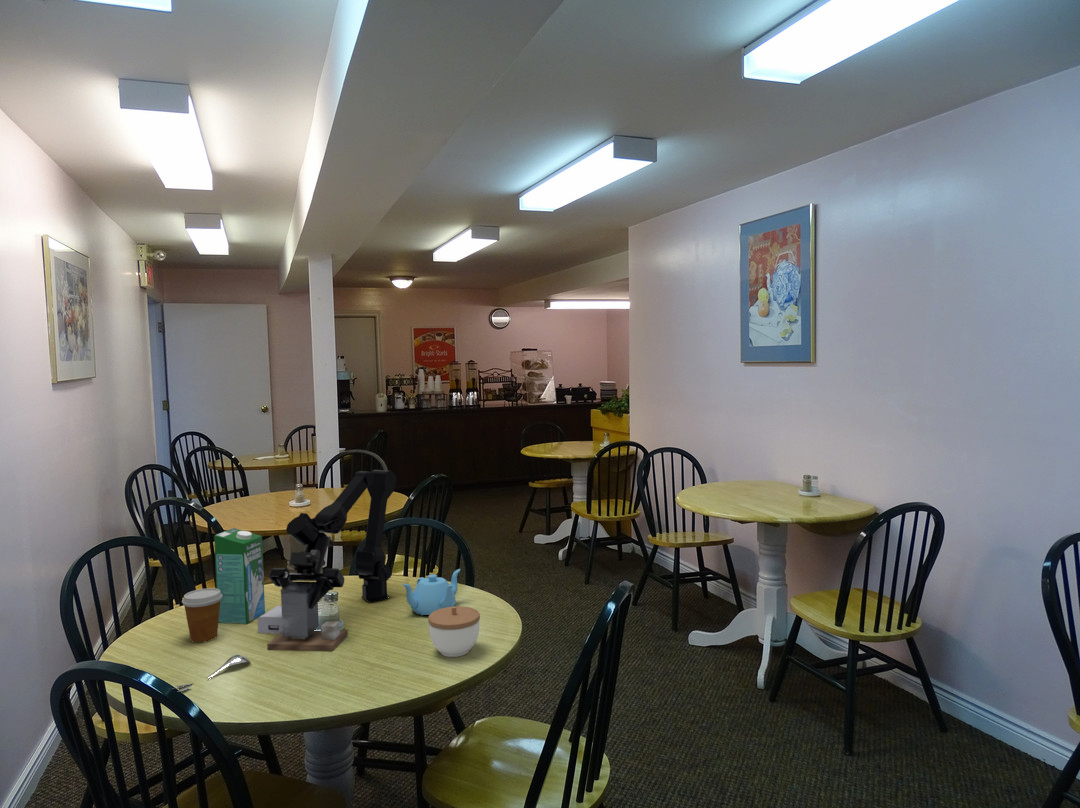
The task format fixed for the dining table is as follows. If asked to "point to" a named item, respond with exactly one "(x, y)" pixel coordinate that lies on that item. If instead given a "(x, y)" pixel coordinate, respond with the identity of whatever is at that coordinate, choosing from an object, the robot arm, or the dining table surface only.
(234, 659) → the silver metal spoon
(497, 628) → the dining table surface
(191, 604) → the disposable coffee cup
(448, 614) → the lidded bowl
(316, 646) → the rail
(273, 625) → the charger
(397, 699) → the dining table surface
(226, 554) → the milk carton
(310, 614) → the dark grey tall block
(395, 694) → the dining table surface
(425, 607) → the teapot
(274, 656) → the dining table surface
